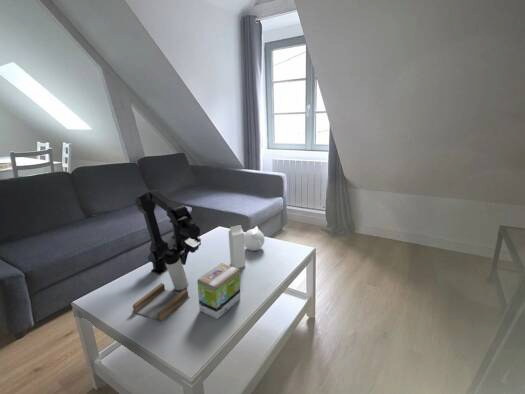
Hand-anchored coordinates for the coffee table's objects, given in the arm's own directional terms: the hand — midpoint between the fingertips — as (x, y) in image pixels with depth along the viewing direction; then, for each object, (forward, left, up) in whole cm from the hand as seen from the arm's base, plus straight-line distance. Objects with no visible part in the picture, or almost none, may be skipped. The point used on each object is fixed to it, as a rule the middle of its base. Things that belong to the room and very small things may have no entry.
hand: (184, 264), depth 129 cm
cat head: (+15, +42, -10) cm, 46 cm away
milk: (+15, +23, -10) cm, 29 cm away
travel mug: (0, -3, -9) cm, 10 cm away
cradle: (0, -16, -10) cm, 19 cm away
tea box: (+23, -7, -10) cm, 26 cm away
